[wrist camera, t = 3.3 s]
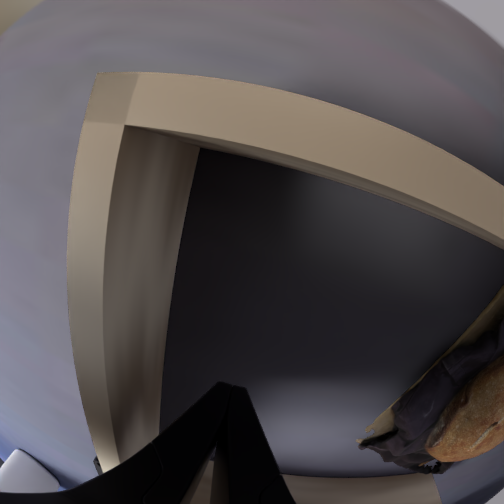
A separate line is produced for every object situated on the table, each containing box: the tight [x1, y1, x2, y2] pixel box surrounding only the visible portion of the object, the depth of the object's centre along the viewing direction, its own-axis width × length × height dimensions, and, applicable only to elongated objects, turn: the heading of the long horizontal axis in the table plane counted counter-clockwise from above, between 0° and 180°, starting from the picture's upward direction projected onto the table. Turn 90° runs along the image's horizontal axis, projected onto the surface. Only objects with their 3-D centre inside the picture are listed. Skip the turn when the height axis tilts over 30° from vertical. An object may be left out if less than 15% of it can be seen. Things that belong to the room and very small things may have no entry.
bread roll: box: [356, 285, 504, 474], centre depth 7 cm, size 11×8×4 cm
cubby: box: [67, 72, 504, 504], centre depth 7 cm, size 15×17×4 cm
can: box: [0, 449, 60, 493], centre depth 11 cm, size 6×6×12 cm
